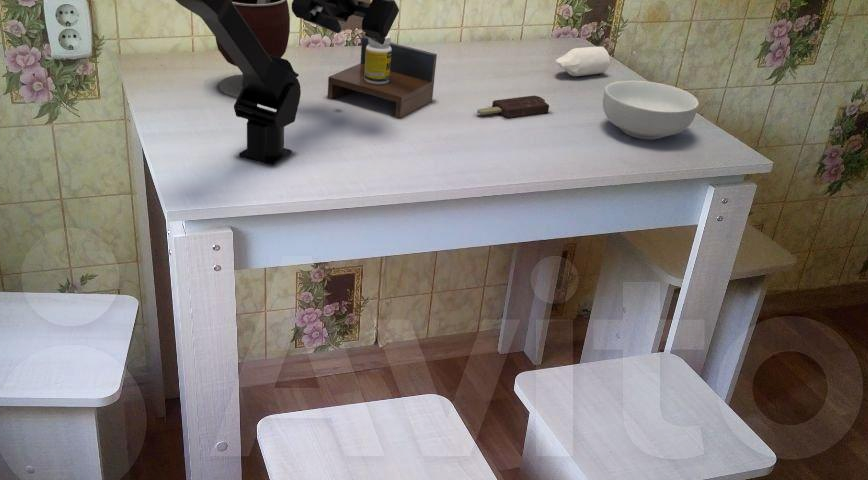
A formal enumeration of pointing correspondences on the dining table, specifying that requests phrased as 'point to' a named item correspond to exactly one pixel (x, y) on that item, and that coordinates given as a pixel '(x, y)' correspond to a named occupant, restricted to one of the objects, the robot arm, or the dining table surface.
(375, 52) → the supplement bottle
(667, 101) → the cereal bowl
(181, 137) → the dining table surface
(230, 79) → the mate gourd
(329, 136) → the dining table surface
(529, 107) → the ice cream bar
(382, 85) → the shelf
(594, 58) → the white tapered cylinder
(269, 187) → the dining table surface
